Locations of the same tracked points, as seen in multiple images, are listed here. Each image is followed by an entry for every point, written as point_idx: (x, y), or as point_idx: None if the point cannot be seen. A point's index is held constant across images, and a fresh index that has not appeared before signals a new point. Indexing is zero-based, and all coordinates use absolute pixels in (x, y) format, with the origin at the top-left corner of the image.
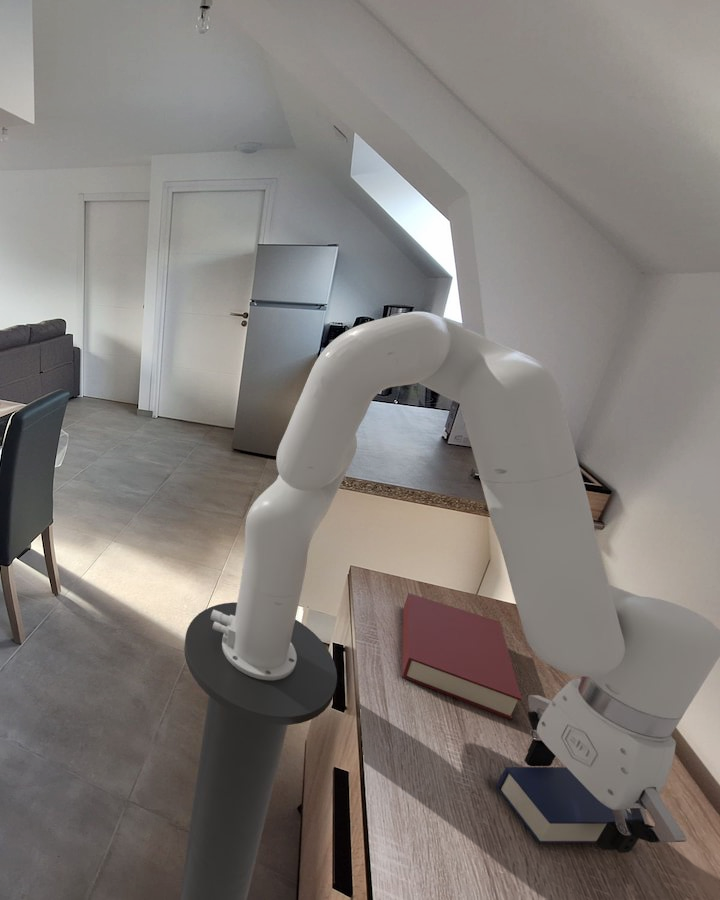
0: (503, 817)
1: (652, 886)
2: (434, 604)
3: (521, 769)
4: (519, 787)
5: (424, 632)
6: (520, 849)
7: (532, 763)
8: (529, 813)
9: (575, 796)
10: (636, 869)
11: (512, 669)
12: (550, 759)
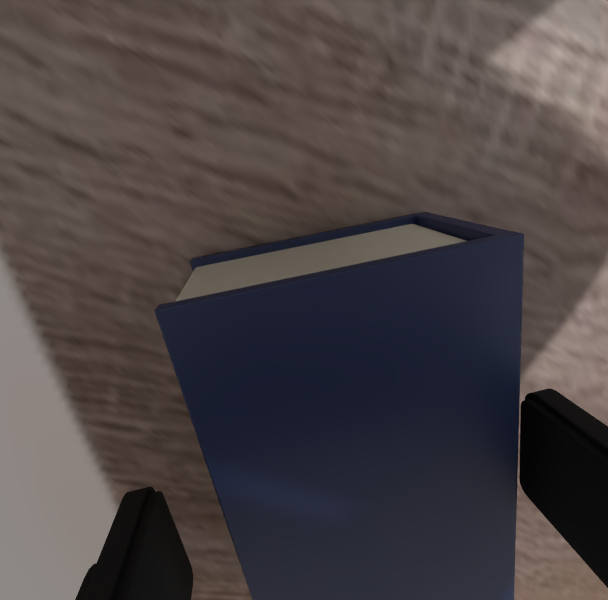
0: (281, 160)
1: None
2: None
3: (505, 332)
4: (392, 259)
5: None
6: (133, 152)
7: (536, 418)
8: (278, 264)
9: (363, 527)
10: (192, 535)
11: None
12: (556, 514)
